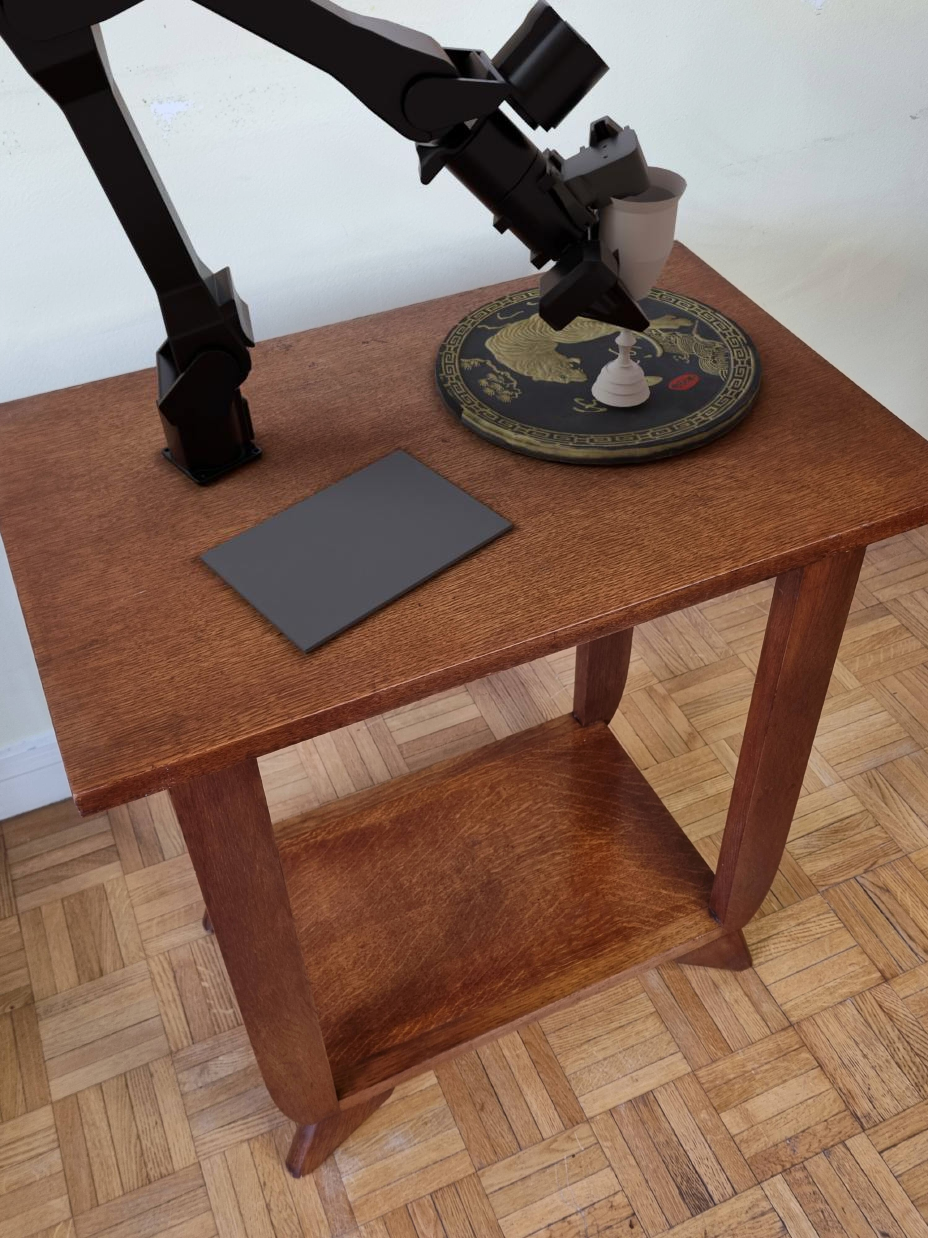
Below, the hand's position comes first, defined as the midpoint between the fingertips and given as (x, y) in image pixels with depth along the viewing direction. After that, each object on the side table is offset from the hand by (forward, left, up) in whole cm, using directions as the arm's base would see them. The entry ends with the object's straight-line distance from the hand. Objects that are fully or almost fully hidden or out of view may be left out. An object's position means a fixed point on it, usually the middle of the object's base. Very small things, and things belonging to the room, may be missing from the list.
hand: (643, 310), depth 90 cm
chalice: (-1, +1, -8) cm, 8 cm away
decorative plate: (+2, +7, -10) cm, 12 cm away
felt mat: (-29, +3, -10) cm, 31 cm away
